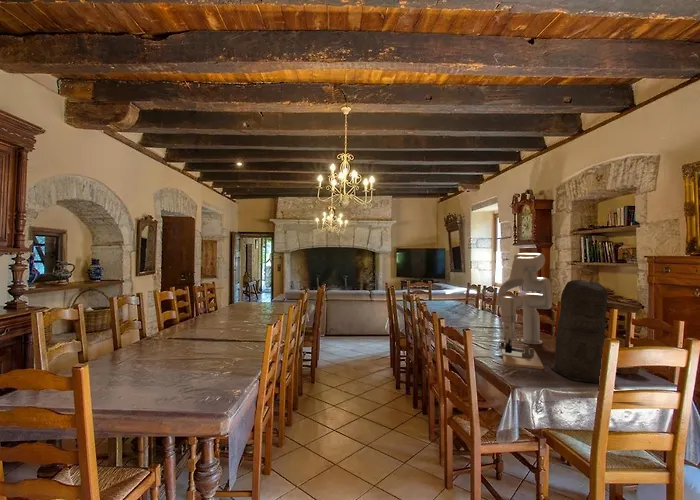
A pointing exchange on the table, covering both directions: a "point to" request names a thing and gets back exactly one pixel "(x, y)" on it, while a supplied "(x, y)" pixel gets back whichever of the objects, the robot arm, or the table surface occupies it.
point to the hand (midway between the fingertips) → (508, 352)
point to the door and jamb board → (522, 358)
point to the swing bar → (512, 348)
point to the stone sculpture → (581, 331)
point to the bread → (628, 370)
